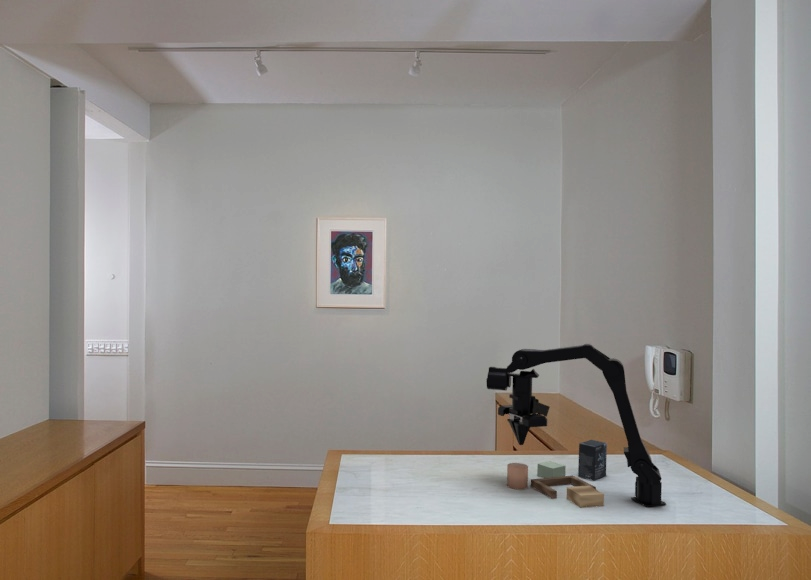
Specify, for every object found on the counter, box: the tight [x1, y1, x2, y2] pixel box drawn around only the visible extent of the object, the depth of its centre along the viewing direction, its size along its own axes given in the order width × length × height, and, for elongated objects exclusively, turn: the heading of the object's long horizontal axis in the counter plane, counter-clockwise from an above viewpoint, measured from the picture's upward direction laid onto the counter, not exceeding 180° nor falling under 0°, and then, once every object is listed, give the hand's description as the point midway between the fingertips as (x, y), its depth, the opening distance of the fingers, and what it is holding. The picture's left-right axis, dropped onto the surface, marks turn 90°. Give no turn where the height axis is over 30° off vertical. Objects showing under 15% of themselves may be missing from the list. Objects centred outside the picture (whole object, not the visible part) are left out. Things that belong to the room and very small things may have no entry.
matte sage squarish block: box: [536, 460, 566, 478], centre depth 178 cm, size 6×6×4 cm
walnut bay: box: [530, 475, 597, 500], centre depth 166 cm, size 11×14×2 cm
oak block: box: [566, 486, 605, 509], centre depth 156 cm, size 7×7×4 cm
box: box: [577, 439, 608, 482], centre depth 180 cm, size 8×6×11 cm
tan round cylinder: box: [506, 462, 529, 491], centre depth 168 cm, size 6×6×6 cm
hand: (521, 444), depth 169 cm, fingers closed
